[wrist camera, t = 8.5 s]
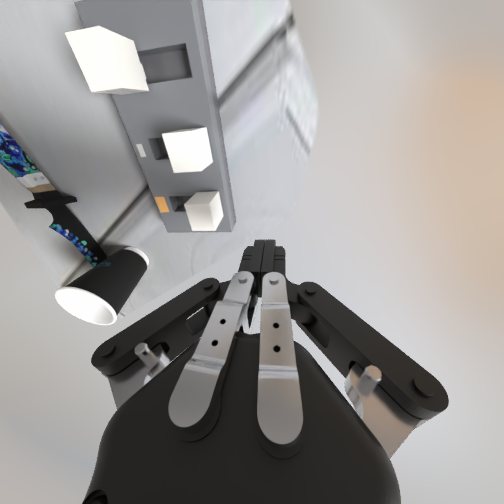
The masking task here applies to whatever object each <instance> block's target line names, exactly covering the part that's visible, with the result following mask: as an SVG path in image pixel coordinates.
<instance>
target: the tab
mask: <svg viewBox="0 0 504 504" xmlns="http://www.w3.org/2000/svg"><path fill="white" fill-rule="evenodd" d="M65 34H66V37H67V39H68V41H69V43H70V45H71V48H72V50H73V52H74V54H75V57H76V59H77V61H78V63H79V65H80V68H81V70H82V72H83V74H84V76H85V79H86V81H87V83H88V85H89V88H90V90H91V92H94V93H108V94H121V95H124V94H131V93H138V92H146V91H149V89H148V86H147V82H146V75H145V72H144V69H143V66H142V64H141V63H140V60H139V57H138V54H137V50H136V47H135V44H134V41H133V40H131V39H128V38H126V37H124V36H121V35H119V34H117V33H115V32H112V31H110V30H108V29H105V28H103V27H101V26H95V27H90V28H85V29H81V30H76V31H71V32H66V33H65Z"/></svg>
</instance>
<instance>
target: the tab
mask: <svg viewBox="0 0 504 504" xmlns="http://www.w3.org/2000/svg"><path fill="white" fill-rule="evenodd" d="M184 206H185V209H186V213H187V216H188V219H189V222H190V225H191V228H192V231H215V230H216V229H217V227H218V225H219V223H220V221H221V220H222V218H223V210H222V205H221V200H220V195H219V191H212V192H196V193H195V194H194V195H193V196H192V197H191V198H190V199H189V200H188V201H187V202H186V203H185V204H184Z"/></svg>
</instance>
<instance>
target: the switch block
mask: <svg viewBox="0 0 504 504" xmlns="http://www.w3.org/2000/svg"><path fill="white" fill-rule="evenodd" d="M74 3H75V6H76V8H77V11H78V13H79V16H80V18H81V20H82V23H83V25H84V28H90V27H95V26H101V27H103V28H105V29H108V30H110V31H112V32H115V33H117V34H119V35H121V36H124V37H126V38H128V39H131V40H133V41H134V44H135V47H136V50H137V54H138V57H139V60H140V63H141V64H142V66H143V69H144V72H145V75H146V82H147V86H148V89H149V91H146V92H138V93H131V94H124V95H121V94H112V97H113V99H114V102H115V104H116V107H117V109H118V112H119V114H120V116H121V119H122V121H123V124H124V126H125V129H126V131H127V134H128V136H129V139H130V141H131V144H132V146H133V148H134V151H135V153H136V156H137V158H138V161H139V163H140V166H141V168H142V171H143V173H144V175H145V178H146V180H147V183H148V185H149V188H150V190H151V193H152V195H153V198H154V200H155V203H156V205H157V207H158V210H159V212H160V215H161V217H162V220H163V222H164V225H165V227H166V230H167V232H232V230H233V227H234V225H235V222H236V217H235V211H234V204H233V198H232V191H231V185H230V178H229V172H228V165H227V159H226V152H225V146H224V139H223V133H222V126H221V120H220V113H219V107H218V100H217V94H216V87H215V81H214V74H213V68H212V61H211V55H210V48H209V42H208V35H207V28H206V22H205V15H204V9H203V2H202V0H82V1H78V2H74ZM202 127H206V128H207V133H208V138H209V143H210V148H211V154H212V159H213V163H211V164H210V165H209V166H207V167H206V168H205V169H204V170H202V171H197V172H181V173H174V171H173V168H172V165H171V162H170V159H169V156H168V152H167V149H166V146H165V143H164V140H163V137H162V134H163V133H168V132H172V131H177V130H182V129H192V128H202ZM212 191H219V195H220V200H221V205H222V210H223V218H222V220H221V221H220V223H219V225H218V227H217V229H216V230H215V231H192V228H191V225H190V222H189V219H188V216H187V213H186V209H185V206H184V204H185V203H186V202H187V201H188V200H189V199H190V198H191V197H192V196H193V195H194V194H195V193H196V192H212Z"/></svg>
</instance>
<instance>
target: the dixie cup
mask: <svg viewBox="0 0 504 504" xmlns="http://www.w3.org/2000/svg"><path fill="white" fill-rule="evenodd" d="M148 264H149V260H148V258H147V256H146V255H145V254H144V253H143V252H142V251H140V250H139V249H137V248H134V247H126V248H124V249H121V250H119V251H118V252H116V253H115V254H113V255H112V256H110V257H109V258H107V259H106V260H104V261H103V262H101V263H100V264H98V265H97V266H95V267H94V268H92V269H91V270H89V271H88V272H86V273H85V274H83V275H82V276H80V277H79V278H77V279H76V280H74V281H73V282H71V283H70V284H68V285H67V286H65V287H61V288H59V289H58V290H56V292H55V298H56V300H57V301H58V303H59V304H60V305H61V306H62V307H63V308H64V309H65V310H66V311H68V312H69V313H71V314H72V315H74V316H76V317H78V318H80V319H82V320H84V321H87V322H90V323H93V324H98V325H110V324H113V323H114V322H115V321H116V319H117V315H118V313H119V312H120V310H121V308H122V307H123V305H124V304H125V302H126V301H127V299H128V298H129V296H130V294H131V293H132V291H133V290H134V288H135V287H136V285H137V284H138V282H139V281H140V279H141V277H142V276H143V274H144V273H145V271H146V270H147V266H148Z"/></svg>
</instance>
